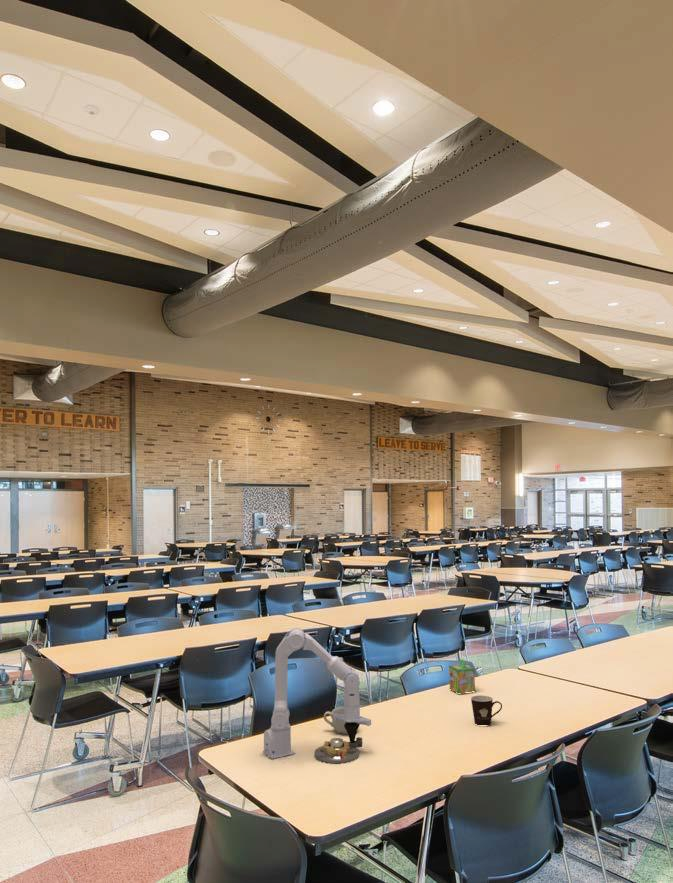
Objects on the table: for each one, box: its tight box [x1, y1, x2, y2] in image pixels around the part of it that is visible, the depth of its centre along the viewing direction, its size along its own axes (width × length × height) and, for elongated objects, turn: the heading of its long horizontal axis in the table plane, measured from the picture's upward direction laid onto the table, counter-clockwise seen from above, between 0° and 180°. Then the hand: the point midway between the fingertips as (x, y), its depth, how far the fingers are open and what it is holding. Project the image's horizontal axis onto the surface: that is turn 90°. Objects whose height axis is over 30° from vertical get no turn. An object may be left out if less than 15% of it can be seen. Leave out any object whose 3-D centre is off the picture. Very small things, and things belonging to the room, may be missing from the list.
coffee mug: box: [470, 694, 503, 726], centre depth 262 cm, size 12×9×10 cm
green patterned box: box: [448, 658, 476, 693], centre depth 309 cm, size 9×9×15 cm
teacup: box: [323, 706, 348, 735], centre depth 257 cm, size 14×11×8 cm
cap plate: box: [314, 737, 360, 765], centre depth 232 cm, size 16×16×5 cm
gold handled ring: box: [322, 736, 363, 757], centre depth 233 cm, size 15×9×3 cm, turn 114°
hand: (352, 743), depth 237 cm, fingers closed, pressing on gold handled ring
